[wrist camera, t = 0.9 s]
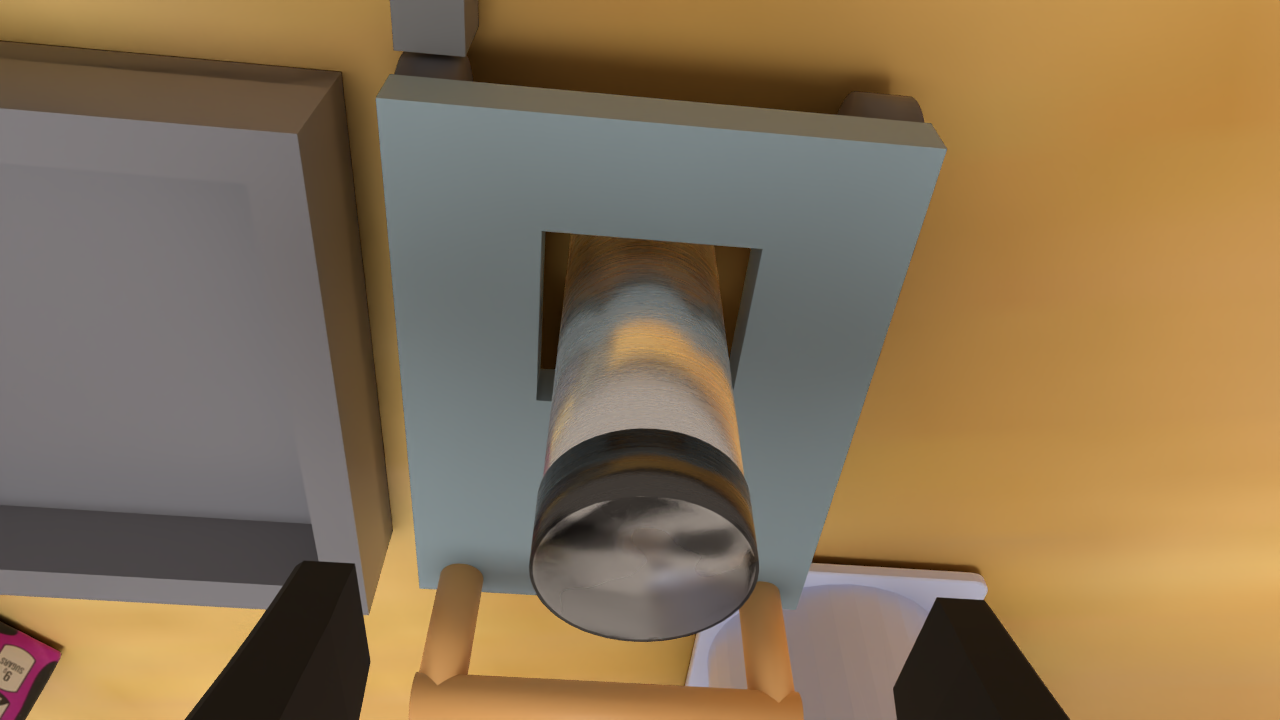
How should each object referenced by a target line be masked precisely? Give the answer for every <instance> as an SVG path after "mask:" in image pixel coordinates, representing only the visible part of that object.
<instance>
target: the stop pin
mask: <svg viewBox="0 0 1280 720" xmlns="http://www.w3.org/2000/svg"><path fill="white" fill-rule="evenodd" d="M529 575H530V580H531V583H532V586H533V588H534V590H535V593H536V595H537V596H538V597H539V599H540V600H541V602H542V603H543V604H544V605H545V606H546V607H547V608H548V609H549V610H550V611H551V612H552V613H553V614H555V615H556V616H557V617H558V618H560V619H561V620H563V621H565V622H566V623H568V624H570V625H572V626H574V627H576V628H578V629H580V630H583V631H585V632H588V633H591V634H594V635H598V636H601V637H605V638H610V639H616V640H623V641H634V642H651V641H664V640H671V639H677V638H681V637H686V636H690V635H693V634H696V633H699V632H702V631H704V630H707V629H709V628H711V627H714V626H715V625H717V624H719V623H721V622H723V621H724V620H726V619H727V618H729V617H730V616H732V615H733V614H734V613H735V612H736V611H738V610H739V609H740V608H741V607H742V606H743V605H744V603H745V602H746V601H747V600H748V599H749V597H750V595H751V594H752V592H753V590H754V588H755V586H756V583H757V581H758V575H759V558H758V550H757V543H756V535H755V528H754V520H753V513H752V505H751V498H750V492H749V488H748V484H747V482H746V480H745V478H744V471H743V464H742V456H741V448H740V441H739V433H738V425H737V418H736V410H735V402H734V395H733V387H732V379H731V372H730V364H729V356H728V349H727V341H726V333H725V326H724V318H723V310H722V303H721V295H720V287H719V280H718V272H717V264H716V256H715V249H714V245H707V244H694V243H682V242H670V241H658V240H646V239H633V238H621V237H609V236H597V235H584V234H572V233H571V239H570V248H569V256H568V265H567V274H566V282H565V291H564V300H563V308H562V317H561V326H560V334H559V343H558V352H557V360H556V369H555V378H554V386H553V395H552V403H551V412H550V421H549V429H548V438H547V447H546V455H545V464H544V473H543V479H542V481H541V483H540V486H539V489H538V495H537V503H536V511H535V520H534V528H533V536H532V545H531V553H530V562H529Z"/></svg>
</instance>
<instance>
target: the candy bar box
mask: <svg viewBox="0 0 1280 720" xmlns="http://www.w3.org/2000/svg"><path fill="white" fill-rule="evenodd" d="M61 655H62V654H61V652H60V651H58V650H56V649H54V648H52V647H50V646H48V645H46V644H44V643H42V642H40V641H38V640H36V639H34V638H32V637H30V636H28V635H26V634H25V633H22V632H20V631H18V630H16V629H14V628H12V627H10V626H8V625H6V624H5V623H3V622H1V621H0V720H25V719H26V717H27V716H28V714H29V712H30V711H31V709H32V707H33V706H34V704H35V702H36V700H37V699H38V697H39V695H40V694H41V692H42V690H43V688H44V687H45V685H46V683H47V682H48V680H49V678H50V676H51V674H52V673H53V671H54V669H55V667H56V665H57V663H58V661H59V660H60V657H61Z"/></svg>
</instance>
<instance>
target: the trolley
mask: <svg viewBox="0 0 1280 720" xmlns="http://www.w3.org/2000/svg"><path fill="white" fill-rule="evenodd" d="M390 7H391V20H392V34H393V47H394V50H395V51H404V52H403V53H402V55H401V57H400V59H399V61H398V64H397V67H396V71H395V74H390V75H389V76H388V78H387V80H386V81H385V83H384V85H383V86H382V88H381V90H380V91H379V93H378V95H377V96H376V107H377V118H378V129H379V140H380V152H381V163H382V174H383V185H384V196H385V207H386V219H387V230H388V241H389V252H390V263H391V274H392V286H393V297H394V308H395V319H396V330H397V341H398V352H399V364H400V375H401V386H402V397H403V408H404V419H405V431H406V442H407V453H408V464H409V475H410V486H411V498H412V509H413V520H414V531H415V542H416V553H417V565H418V576H419V587H420V588H422V589H437V592H436V596H435V601H434V605H433V610H432V615H431V619H430V624H429V629H428V633H427V638H426V643H425V647H424V652H423V656H422V661H421V666H420V670H419V672H416V674H415V677H414V680H413V684H412V689H411V695H410V703H409V720H804V714H803V704H802V699H801V696H800V694H799V692H795V690H794V683H793V677H792V670H791V664H790V657H789V650H788V644H787V637H786V631H785V624H784V617H783V611H782V609H787V610H796V608H797V605H798V602H799V599H800V596H801V593H802V590H803V587H804V584H805V581H806V578H807V575H808V571H809V568H810V565H811V562H812V559H813V556H814V553H815V550H816V547H817V544H818V541H819V538H820V535H821V532H822V529H823V526H824V523H825V520H826V517H827V514H828V511H829V508H830V504H831V501H832V498H833V495H834V492H835V489H836V486H837V483H838V480H839V477H840V474H841V471H842V468H843V465H844V462H845V459H846V456H847V453H848V450H849V447H850V444H851V440H852V437H853V434H854V431H855V428H856V425H857V422H858V419H859V416H860V413H861V410H862V407H863V404H864V401H865V398H866V395H867V392H868V389H869V386H870V383H871V380H872V376H873V373H874V370H875V367H876V364H877V361H878V358H879V355H880V352H881V349H882V346H883V343H884V340H885V337H886V334H887V331H888V328H889V325H890V322H891V319H892V316H893V312H894V309H895V306H896V303H897V300H898V297H899V294H900V291H901V288H902V285H903V282H904V279H905V276H906V273H907V270H908V267H909V264H910V261H911V258H912V255H913V252H914V249H915V245H916V242H917V239H918V236H919V233H920V230H921V227H922V224H923V221H924V218H925V215H926V212H927V209H928V206H929V203H930V200H931V197H932V194H933V191H934V188H935V185H936V181H937V178H938V175H939V172H940V169H941V166H942V163H943V160H944V157H945V154H946V151H947V148H946V146H945V145H944V143H943V142H942V140H941V139H940V137H939V135H938V134H937V132H936V131H935V129H934V127H933V126H932V124H931V123H924V119H923V114H922V111H921V108H920V106H919V104H918V102H917V101H916V100H915V99H914V98H913V97H910V96H900V95H889V94H878V93H868V92H857V91H854V92H851V93H850V94H848V96H847V97H846V98H845V99H844V101H843V103H842V105H841V107H840V108H839V111H838V113H837V115H833V114H822V113H811V112H800V111H789V110H778V109H767V108H756V107H745V106H734V105H723V104H712V103H701V102H691V101H680V100H669V99H658V98H647V97H636V96H625V95H614V94H603V93H592V92H581V91H570V90H559V89H548V88H537V87H526V86H515V85H504V84H493V83H482V82H473V76H472V69H471V65H470V61H469V59H468V57H467V56H466V55H467V52H468V50H469V48H470V45H471V43H472V41H473V38H474V36H475V34H476V31H477V29H478V27H479V19H478V0H390ZM545 231H548V232H560V233H572V234H584V235H597V236H609V237H621V238H633V239H646V240H658V241H670V242H682V243H694V244H707V245H719V246H731V247H743V248H751V252H750V257H749V262H748V267H747V272H746V277H745V282H744V287H743V292H742V297H741V302H740V307H739V312H738V317H737V322H736V327H735V332H734V337H733V342H732V348H731V353H730V358H729V364H730V372H731V379H732V387H733V395H734V402H735V410H736V418H737V425H738V433H739V441H740V448H741V456H742V464H743V471H744V478H745V480H746V482H747V484H748V488H749V492H750V498H751V505H752V513H753V520H754V528H755V535H756V543H757V550H758V558H759V575H758V581H757V583H756V586H755V588H754V590H753V592H752V594H751V595H750V597H749V599H748V600H747V601H746V602H745V603H744V605H743V606H742V607H741V608H740V609H739V614H740V624H741V633H742V643H743V652H744V662H745V671H746V680H747V689H732V688H713V687H694V686H675V685H656V684H636V683H617V682H598V681H579V680H559V679H540V678H521V677H502V676H482V675H467V674H468V668H469V662H470V656H471V651H472V645H473V639H474V633H475V627H476V621H477V615H478V609H479V603H480V597H481V592H491V593H509V594H526V595H536V593H535V590H534V588H533V586H532V583H531V580H530V575H529V562H530V553H531V545H532V536H533V528H534V520H535V511H536V503H537V495H538V489H539V486H540V483H541V481H542V479H543V473H544V464H545V455H546V447H547V438H548V429H549V421H550V412H551V403H552V395H553V386H554V378H555V370H554V369H541V345H542V316H543V287H544V257H545Z"/></svg>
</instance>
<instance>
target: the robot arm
mask: <svg viewBox="0 0 1280 720" xmlns="http://www.w3.org/2000/svg"><path fill="white" fill-rule="evenodd" d="M987 591H988V588H987V585H986V583H985V580H984V578H983V577H982V576H981V575H979V574H976V573H971V572H955V571H938V570H922V569H905V568H889V567H872V566H856V565H839V564H823V563H811V565H810V568H809V571H808V575H807V578H806V581H805V584H804V587H803V590H802V593H801V596H800V599H799V602H798V605H797V608H796V610H787V609H782V611H783V617H784V624H785V631H786V637H787V644H788V650H789V657H790V664H791V670H792V677H793V683H794V690H795V692H799V694H800V696H801V699H802V704H803V714H804V720H1070V719H1069V717H1068V716H1067V715H1066V713H1065V712H1064V711H1063V709H1062V708H1061V706H1060V705H1059V704H1058V702H1057V701H1056V700H1055V698H1054V697H1053V695H1052V694H1051V693H1050V691H1049V690H1048V688H1047V687H1046V686H1045V684H1044V683H1043V682H1042V680H1041V679H1040V677H1039V676H1038V675H1037V673H1036V672H1035V670H1034V669H1033V668H1032V666H1031V665H1030V663H1029V662H1028V660H1027V659H1026V658H1025V656H1024V655H1023V653H1022V652H1021V651H1020V649H1019V648H1018V646H1017V645H1016V644H1015V642H1014V641H1013V639H1012V638H1011V636H1010V635H1009V634H1008V632H1007V631H1006V629H1005V628H1004V627H1003V625H1002V624H1001V622H1000V621H999V620H998V618H997V617H996V615H995V614H994V613H993V611H992V610H991V608H990V607H989V606H988V604H987V603H986V602H985V601H984V598H985V596H986V594H987ZM369 666H370V656H369V649H368V643H367V637H366V630H365V624H364V618H363V611H362V605H361V598H360V592H359V586H358V579H357V573H356V566H355V563H339V562H322V561H305V560H304V561H302V562H301V563H299V564H298V565H296V566H295V568H294V569H293V571H292V572H291V574H290V576H289V577H288V579H287V580H286V582H285V583H284V585H283V586H282V588H281V589H280V591H279V592H278V594H277V595H276V597H275V598H274V600H273V601H272V603H271V604H270V606H269V607H268V608H267V610H266V611H265V613H264V614H263V616H262V617H261V619H260V620H259V621H258V623H257V624H256V626H255V627H254V628H253V630H252V631H251V633H250V634H249V636H248V637H247V638H246V640H245V641H244V642H243V644H242V645H241V646H240V648H239V649H238V651H237V652H236V653H235V655H234V656H233V657H232V659H231V660H230V661H229V663H228V664H227V666H226V667H225V668H224V670H223V671H222V672H221V674H220V675H219V676H218V677H217V679H216V680H215V681H214V683H213V684H212V685H211V686H210V688H209V689H208V690H207V692H206V693H205V694H204V695H203V697H202V698H201V699H200V701H199V702H198V703H197V704H196V706H195V707H194V708H193V710H192V711H191V712H190V713H189V715H188V716H187V717H186V719H185V720H359V717H360V712H361V707H362V702H363V697H364V692H365V687H366V682H367V676H368V671H369ZM685 686H694V687H713V688H732V689H747V680H746V671H745V662H744V652H743V643H742V633H741V624H740V614H739V610H738V611H736V612H735V613H734V614H733V615H732V616H730V617H729V618H727V619H726V620H724V621H723V622H721V623H719V624H717V625H715V626H714V627H711V628H709V629H707V630H704V631H702V632H699V633H697V634H696V639H695V643H694V648H693V652H692V657H691V661H690V665H689V670H688V674H687V679H686V683H685Z"/></svg>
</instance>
